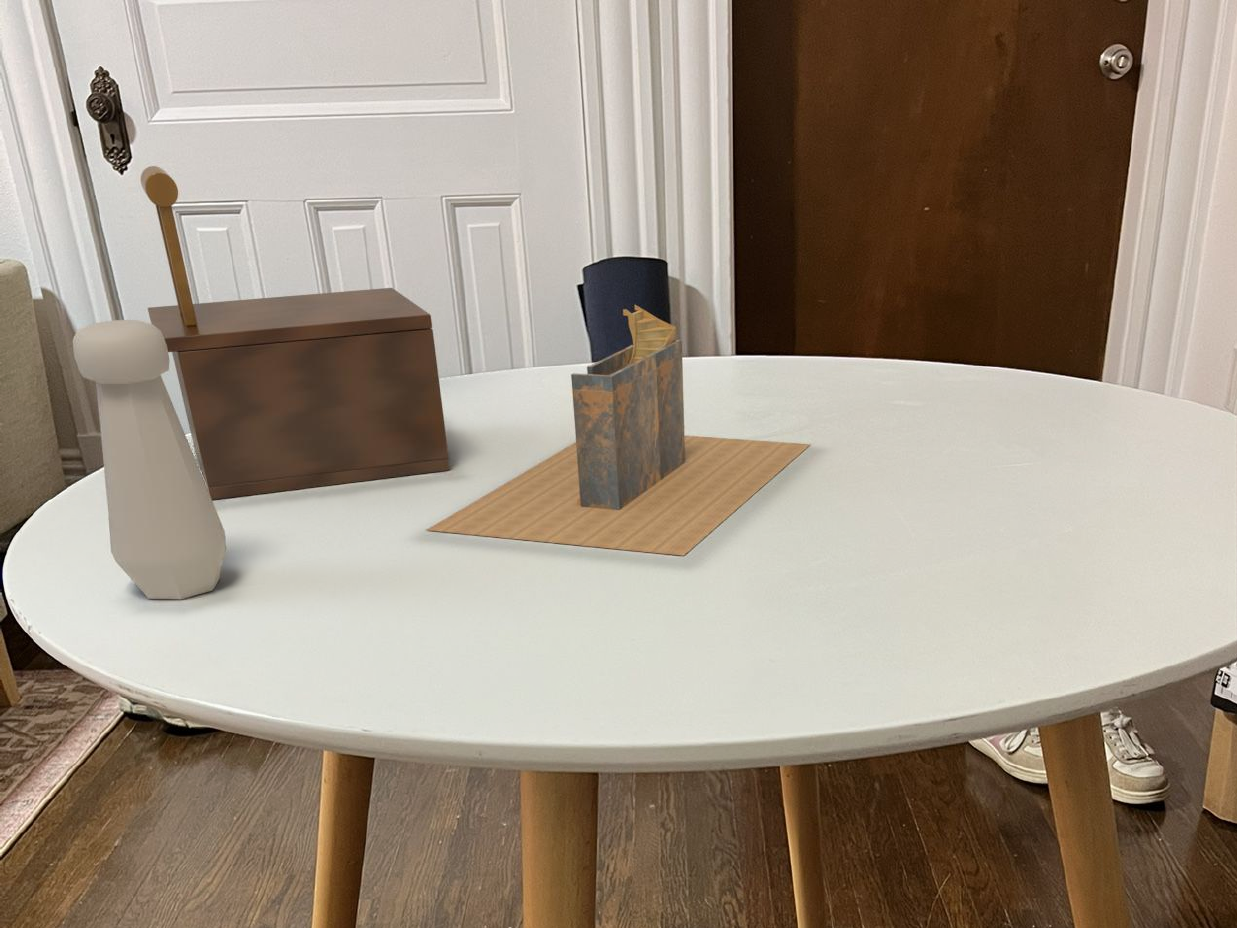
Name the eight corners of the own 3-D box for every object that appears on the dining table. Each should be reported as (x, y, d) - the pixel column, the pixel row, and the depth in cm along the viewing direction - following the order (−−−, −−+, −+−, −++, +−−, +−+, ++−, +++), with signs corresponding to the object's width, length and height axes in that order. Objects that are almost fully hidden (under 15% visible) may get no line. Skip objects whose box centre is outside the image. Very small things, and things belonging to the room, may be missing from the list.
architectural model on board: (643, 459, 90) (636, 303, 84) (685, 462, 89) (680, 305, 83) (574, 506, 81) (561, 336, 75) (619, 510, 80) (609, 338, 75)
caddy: (211, 500, 84) (177, 352, 79) (195, 454, 93) (164, 320, 89) (450, 470, 88) (432, 328, 83) (412, 429, 98) (394, 300, 93)
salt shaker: (208, 607, 68) (142, 335, 60) (103, 605, 68) (25, 335, 61) (252, 569, 72) (196, 312, 65) (154, 567, 73) (87, 313, 66)
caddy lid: (161, 353, 79) (120, 178, 73) (150, 320, 88) (113, 164, 83) (432, 328, 83) (411, 163, 78) (394, 299, 93) (373, 151, 88)
